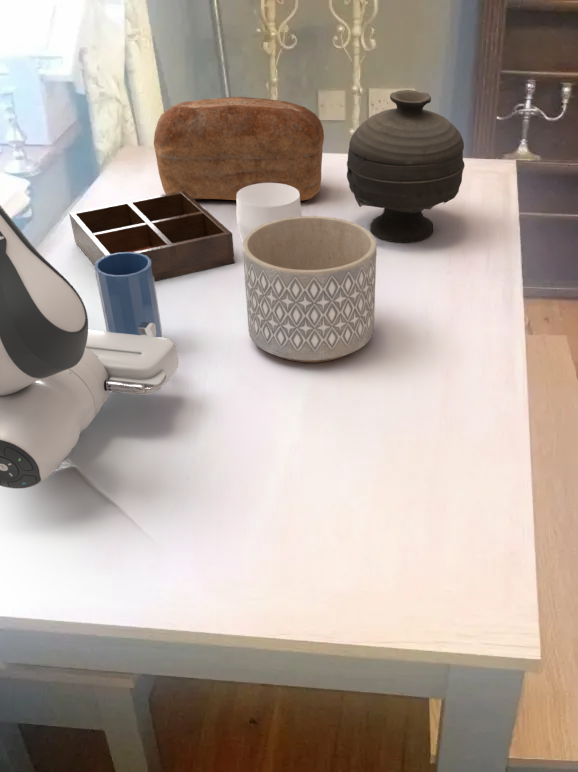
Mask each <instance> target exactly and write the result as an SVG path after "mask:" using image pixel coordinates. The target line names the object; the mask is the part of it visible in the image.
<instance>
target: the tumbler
mask: <svg viewBox="0 0 578 772" xmlns="http://www.w3.org/2000/svg"><path fill="white" fill-rule="evenodd" d="M94 273H95V279H96V283H97V289H98V293H99V299H100V304H101V309H102V314H103V320H104V324H105V325H104V326H105V329H106V330H105V331H106V332H114V333H123V334H133V335H140V333H139V330H138V327H139V326H140V325H142V324H141V323H142V322H146V323H154V324H155V328H156V337H161V338H164V336H163V330H162V329H163V328H162V323H161V316H160V309H159V302H158V296H157V289H156V281H154V274H153V268H152V261H151V259H150V258H149V257H148V256H146V255H143V254H141V253H134V252H119V253H114V254H110V255H107V256H105V257H102V258H100V259H99V260H98V261H97V262H96V263H95V266H94Z"/></svg>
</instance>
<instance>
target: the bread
mask: <svg viewBox="0 0 578 772" xmlns="http://www.w3.org/2000/svg"><path fill="white" fill-rule="evenodd" d="M324 143H325V133H324V127H323V124H322V122H321V119H320V118H319V117H318V116H317V114H316V113H315V112H313V111H312V110H310V109H309V108H307V107H306V106H303V105H299V104H297V103H294V102H289V101H285V100H280V99H279V100H277V99H270V98H256V97H248V96H227V97H218V98H203V99H198V100H197V99H196V100H190V101H182V102H179V103H176V104H174V105H172V106H171V107H168V108H167V109H166V110H165V111H163V113H161V114H160V117H159V118H158V120H157V123H156V127H155V129H154V136H153V147H154V152H155V159H156V165H157V170H158V175H159V178H160V183H161V186H162V190H163V192H164V194H170V193H175V192H180V191H185V192H186V193H187V194H188V195H189V196H191V197H192V198H193V199H194V200H227V201H229V200H230V201H236V194H237V192H238V191H239V190H240V189H242V188H244V187H246V186H249V185H253V184H259V183H280V184H286V185H289V186H292V187H294V188H296V189H297V190H298V191H299V194H300V202H301V201H307V200H311V199H313V198H314V197H315V196H316V195H317V194H318V193H319V191H320V189H321V186H322V165H323V164H322V163H323V146H324Z"/></svg>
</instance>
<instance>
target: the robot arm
mask: <svg viewBox="0 0 578 772" xmlns="http://www.w3.org/2000/svg"><path fill="white" fill-rule="evenodd" d="M141 324H142V325H140V326H139V327H138V330H139V333H140V335H133V334H123V333H114V332H107V331H103V330H93V329H89V318H88V311H87V309H86V305H85V303H84V301H83V299H82V297H81V296H80V294H79V293H78V291H77V290H76V289H75V287H74V286H73V285H72V284H71V283H70V282H69V281H68V280H67V279H66V277H65V276H63V275H62V273H60V272H59V271H58V270H57V269H56V268H55V267H54V266H53V265H52V264H51V263H50V262H49V261H48V260H46V258H44V256H43V255H41V253H40V252H39V251H38V250H37V248H35V246H34V245H33V244H32V243H31V242H30V241H29V239H28V238H27V237H26V236H25V234H24V233H23V231H22V230H20V227H18V226H17V224H16V223H15V222H14V220H13V219H12V218H11V216H10V215H9V214H8V213H7V212H6V211H5V208H3V207H2V205H1V204H0V487H3V488H8V489H27V488H31V487H34V486H37V485H39V484H41V483H42V482H44V481H46V479H48V478H49V477H50V476H51V475H52V474H53V473H54V472H55V471H56V470H57V469H59V467H60V465H62V463H63V462H64V461H65V460H66V458H67V457H69V455H70V453H71V452H72V451H73V449H74V448H75V446H76V445H77V443H78V441H79V438H80V435H81V432H83V431H84V430H86V429H87V428H88V427H89V426H90V425H91V423H92V422H93V421H94V419H95V418H96V416H98V415H97V414H98V413H99V412H100V410H101V409H102V408H103V406H104V405H105V403H106V402H107V400H108V399H109V397H110V393H111V392H114V393H122V394H130V395H139V396H140V395H141V396H144V395H145V396H146V395H151V394H154V393H156V392H158V391H159V390H161V389H162V388H163V387H164V386H165V385H166V384H167V383H168V382H169V381H170V379H172V378H173V376H174V375H175V374H176V372H177V371H178V369H179V364H180V363H179V354H178V347H177V345H176V343H175V341H174V340H173V339H172V338H169V337H163V338H161V337H156V328H155V324H154V323H146V322H142V323H141Z"/></svg>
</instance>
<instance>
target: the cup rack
mask: <svg viewBox="0 0 578 772" xmlns="http://www.w3.org/2000/svg"><path fill="white" fill-rule="evenodd" d="M69 219H70V225H71V229H72V230H71V231H72V234H73V238H74V242H75V244H76V245H77V246H78V248H79V249H80V250H81V251H82V253H83V254H84V255H85V256H86V257H87V259H88V260H89V261H90V262H91V264H93V266H94V267H95V263H96V262H97V261H98V260H99V259H100V258H102V257H105V256H107V255H110V254H114V253H119V252H134V253H141V254H143V255H146V256H148V257H149V258H150V259H151V261H152V268H153V274H154V281H155V282H157V281H161V280H162V281H163V280H166V279H169V278H175V277H178V276H183V275H188V274H193V273H195V272H200V271H204V270H205V271H206V270H210V269H213V268H217V267H223V266H226V265H232V264H235V263H236V261H235V253H234V252H235V251H234V238H233V232H232V231H230V230H229V229H228V228H227V227H226V226H225V225H224V224H222V222H220V221H219V220H218V218H217V219H216V217H215V216H213V214H211V212H209V211H208V210H206V209H205V208H204V207H203V206H202V205H201V204H200V203H199V202H198V201H196V199H193V198H192V197H191V196H189V195H188V194H187V193H186V192H185V191H180V192H175V193H170V194H166V193H164V194H159V195H154V196H150V197H145V198H140V199H139V198H138V199H134V200H130V201H129V200H128V201H125V202H119V203H113V204H108V205H103V206H99V207H93V208H88V209H83V210H77V211H72V212H69Z"/></svg>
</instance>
